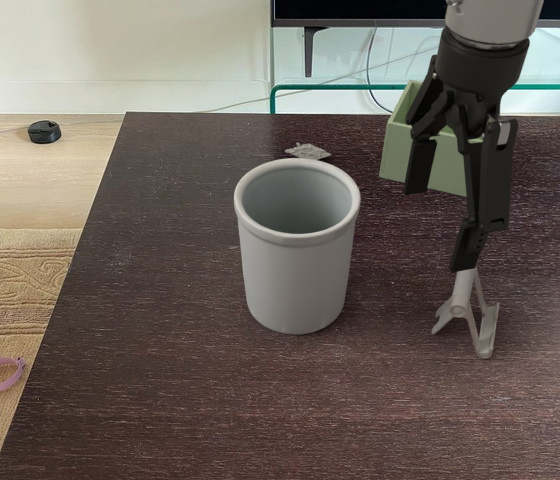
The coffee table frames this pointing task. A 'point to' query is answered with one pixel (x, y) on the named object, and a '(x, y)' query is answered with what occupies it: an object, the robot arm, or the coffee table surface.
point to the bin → (398, 145)
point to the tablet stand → (470, 312)
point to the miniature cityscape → (308, 152)
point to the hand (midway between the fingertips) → (436, 228)
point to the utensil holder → (296, 242)
